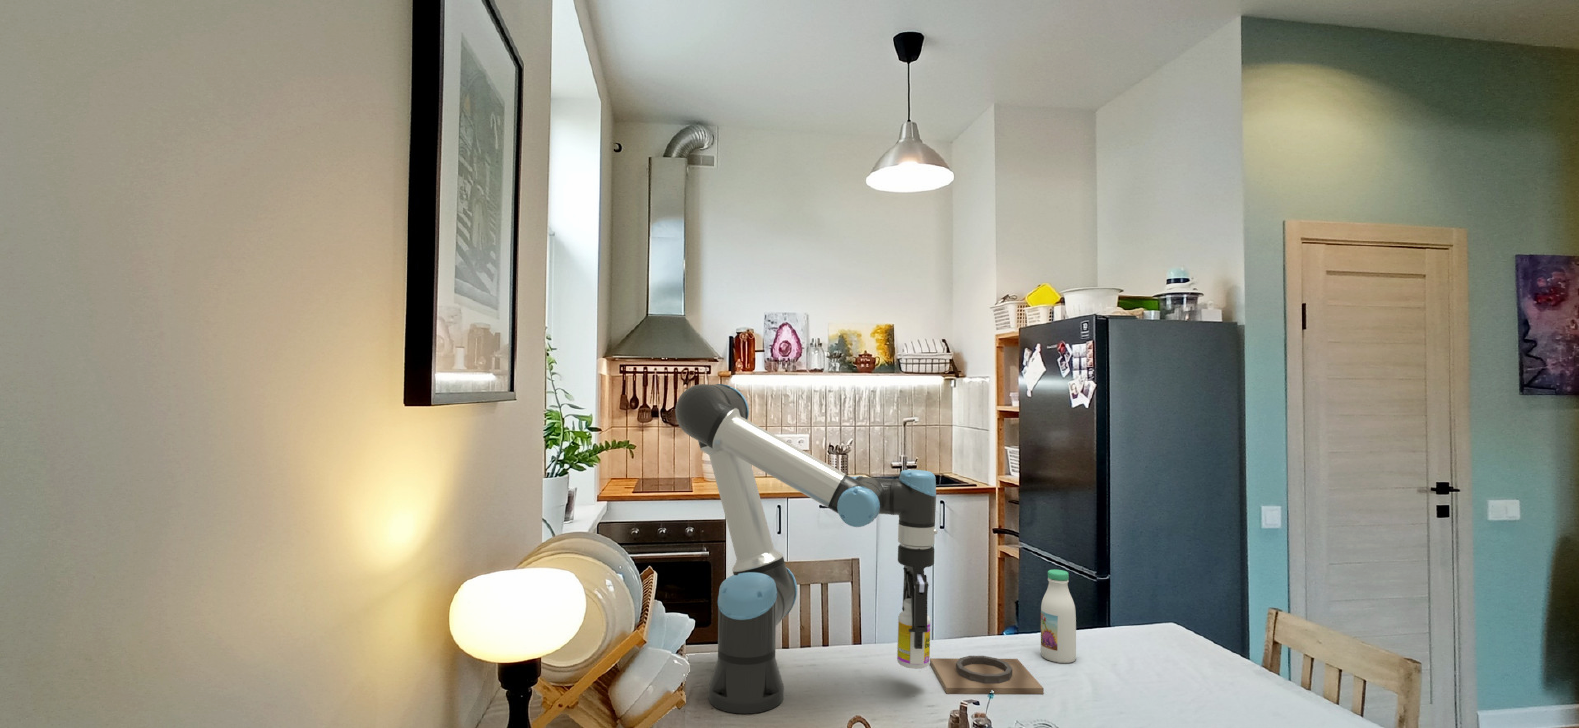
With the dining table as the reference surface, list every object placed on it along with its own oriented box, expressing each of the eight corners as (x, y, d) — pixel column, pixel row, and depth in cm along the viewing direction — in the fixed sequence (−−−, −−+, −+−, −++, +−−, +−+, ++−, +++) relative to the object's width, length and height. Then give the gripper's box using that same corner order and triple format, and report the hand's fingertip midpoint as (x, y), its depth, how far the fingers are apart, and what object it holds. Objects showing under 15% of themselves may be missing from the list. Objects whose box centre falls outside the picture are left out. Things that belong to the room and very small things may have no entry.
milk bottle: (1070, 652, 171) (1070, 567, 171) (1080, 664, 163) (1080, 576, 164) (1037, 651, 171) (1037, 566, 172) (1045, 663, 164) (1045, 575, 164)
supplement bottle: (929, 671, 145) (930, 607, 145) (896, 668, 146) (897, 604, 147) (929, 659, 151) (931, 598, 152) (897, 656, 153) (899, 595, 153)
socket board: (946, 693, 147) (946, 680, 147) (929, 663, 163) (929, 651, 163) (1043, 694, 147) (1043, 680, 147) (1017, 664, 163) (1017, 652, 163)
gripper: (945, 556, 140) (942, 676, 139) (924, 535, 159) (921, 639, 159) (907, 555, 140) (903, 675, 139) (890, 534, 159) (887, 639, 159)
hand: (913, 656), depth 149 cm, fingers closed on supplement bottle, 7 cm apart
